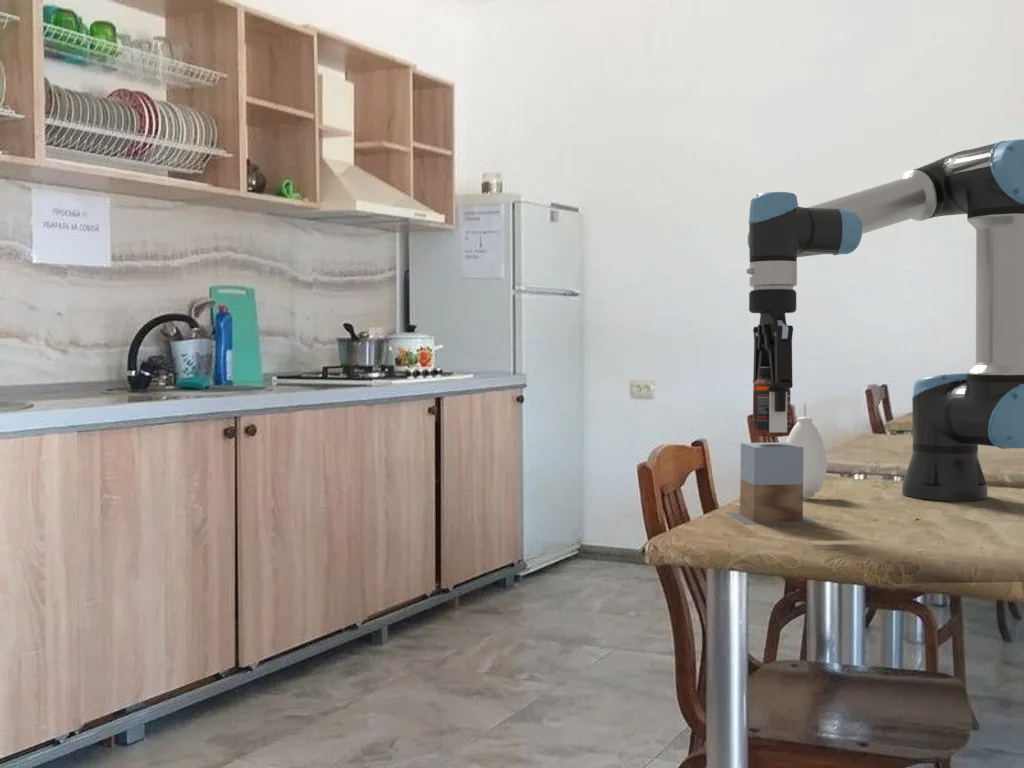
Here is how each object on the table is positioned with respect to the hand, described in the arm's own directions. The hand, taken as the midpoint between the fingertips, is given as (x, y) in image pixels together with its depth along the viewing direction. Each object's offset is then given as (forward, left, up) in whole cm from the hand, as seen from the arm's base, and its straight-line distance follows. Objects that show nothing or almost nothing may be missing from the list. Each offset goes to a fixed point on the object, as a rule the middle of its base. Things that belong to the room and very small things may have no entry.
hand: (771, 430), depth 178 cm
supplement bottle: (0, 0, -1) cm, 1 cm away
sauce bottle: (-14, -25, -15) cm, 32 cm away
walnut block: (0, 0, -14) cm, 14 cm away
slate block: (0, 0, -8) cm, 8 cm away
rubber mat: (0, 0, -15) cm, 15 cm away
